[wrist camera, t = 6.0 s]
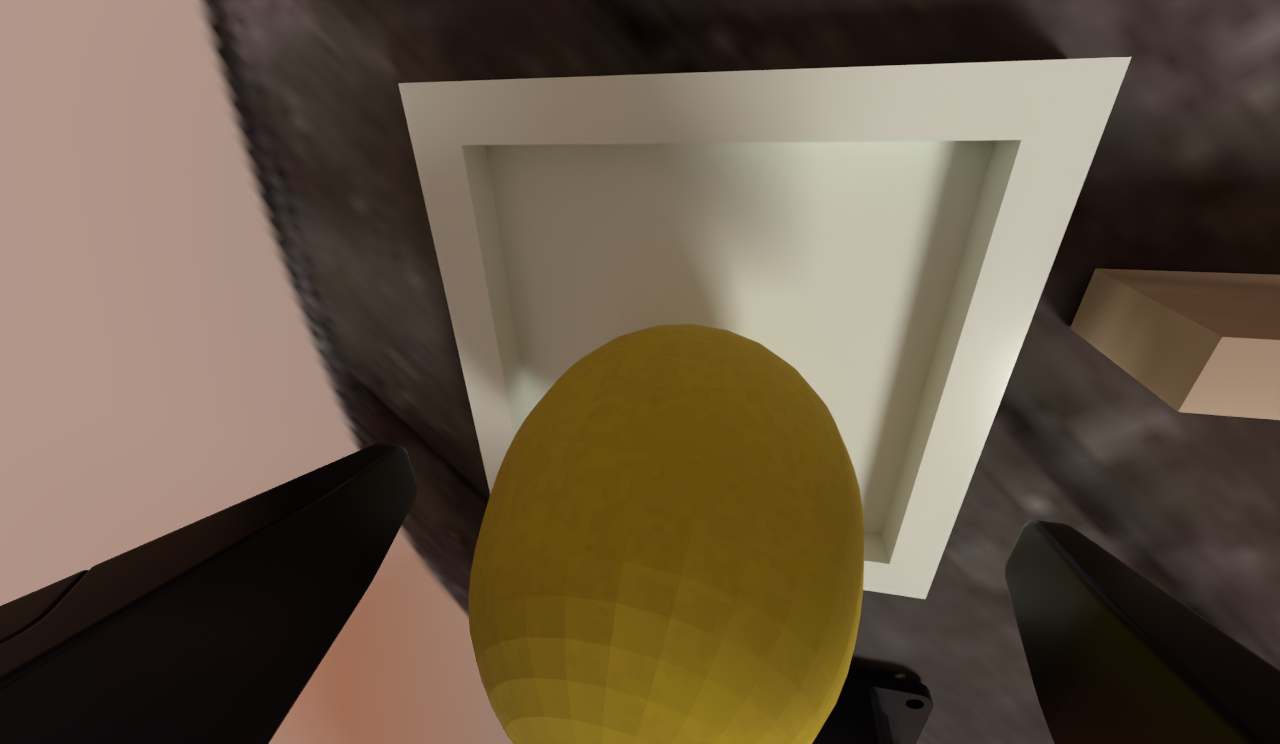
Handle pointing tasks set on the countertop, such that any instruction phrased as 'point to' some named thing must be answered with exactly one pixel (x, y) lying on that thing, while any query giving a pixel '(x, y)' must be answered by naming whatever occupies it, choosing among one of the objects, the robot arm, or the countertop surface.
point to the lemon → (670, 551)
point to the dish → (771, 244)
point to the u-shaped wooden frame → (1190, 336)
